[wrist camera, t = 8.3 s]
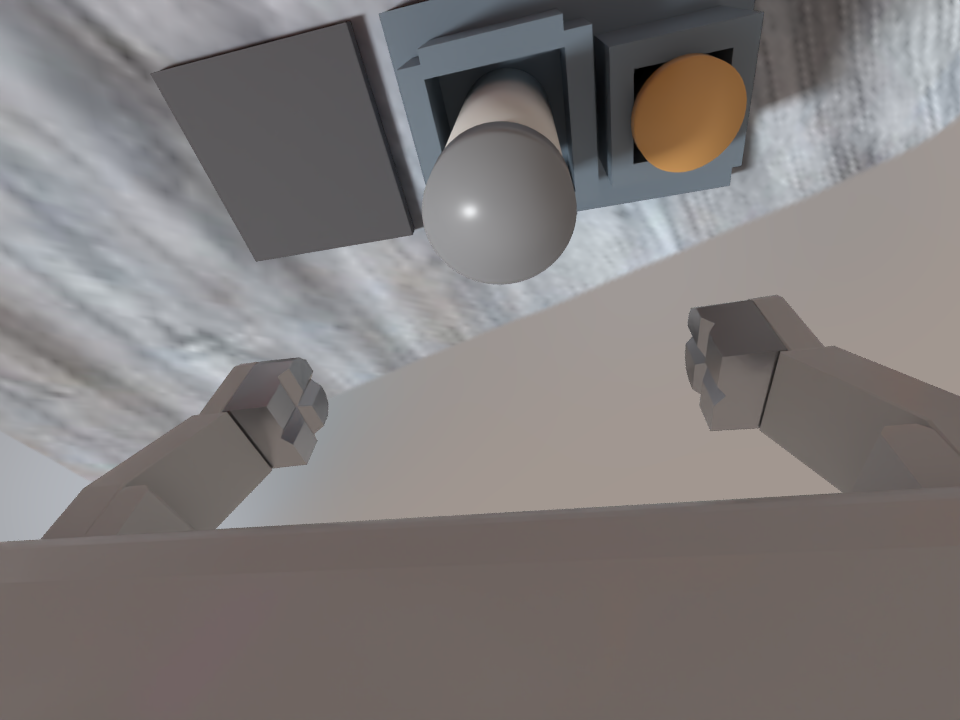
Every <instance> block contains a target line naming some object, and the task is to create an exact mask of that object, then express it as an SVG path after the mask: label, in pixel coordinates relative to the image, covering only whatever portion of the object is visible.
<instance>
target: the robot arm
mask: <svg viewBox="0 0 960 720" xmlns="http://www.w3.org/2000/svg"><path fill="white" fill-rule="evenodd" d="M688 328H689V330H690V332H691V334H692V338H691V339H690V340H689V341H688V342H687V343H686V350H685V361H686V362H685V363H686V371H687V375H688V379H689V382H690V384H691V387H692V389H693V390H695V391H696V392H698V393H700V394H701V397H700V404H699V405H700V408H701V410H702V413H703V415H704V417H705V420H706V422H707V424H708V426H709V429H710V431H719V430H736V429H754V428H760V431H761V432H763V433H764V434H765V435H767V436H768V437H769V438H771V439H772V440H773V441H775V442H776V443H777V444H779V445H780V446H781V447H783V448H784V449H785V450H787V451H788V452H789V453H791V454H792V455H793V456H795V457H796V458H797V459H799V460H800V461H801V462H803V463H804V464H805V465H807V466H808V467H809V468H811V469H812V470H813V471H815V472H816V473H817V474H819V475H820V476H821V477H823V478H824V479H825V480H827V481H828V482H829V483H831V484H832V485H833V486H835V487H836V488H838V489H839V490H840V491H841V492H843V493H834V494H818V495H799V496H782V497H764V498H747V499H731V500H714V501H697V502H680V503H679V502H678V503H661V504H643V505H626V506H609V507H594V508H593V507H592V508H574V509H557V510H540V511H523V512H505V513H489V514H472V515H455V516H438V517H420V518H403V519H385V520H369V521H352V522H333V523H316V524H300V525H282V526H264V527H249V528H248V527H247V528H230V529H216V528H217V527H218V526H219V525H220V524H221V523H222V522H223V521H224V520H225V518H227V517H228V515H229V514H230V513H231V512H232V511H233V510H234V509H235V508H236V507H237V506H238V505H239V504H240V503H241V502H242V501H243V500H244V499H245V498H246V497H247V496H248V495H249V494H250V493H251V492H252V491H253V490H254V489H255V488H256V487H257V486H258V484H259V483H261V481H262V480H263V479H264V478H265V477H266V476H267V475H268V474H269V473H270V472H271V471H272V468H280V467H289V466H298V465H307V463H308V461H309V459H310V456H311V454H312V452H313V450H314V447H315V445H316V443H317V439H316V437H315V433H316V432H317V431H318V430H319V429H320V428H322V427H323V426H324V424H325V421H326V419H327V416H328V400H327V396H326V393H325V391H324V390H323V388H322V386H321V385H319V384H318V383H316V382H315V381H313V380H312V379H311V377H312V373H313V370H312V369H311V367H310V365H309V364H308V362H307V361H306V360H305V359H302V358H290V359H281V360H271V361H262V362H253V363H246V364H240V365H238V366H235V367H234V368H233V369H232V370H231V372H230V373H229V375H228V376H227V377H226V379H225V380H224V381H223V383H222V384H221V385H220V387H219V388H218V389H217V391H216V392H215V394H214V395H213V396H212V398H211V399H210V400H209V402H208V403H207V404H206V406H205V407H204V409H203V410H202V411H201V413H200V414H199V415H194V416H191V417H190V418H188V419H187V420H185V421H184V422H182V423H181V424H179V425H178V426H176V427H175V428H173V429H172V430H170V431H169V432H167V433H166V434H164V435H163V436H161V437H160V438H158V439H157V440H155V441H154V442H152V443H151V444H149V445H148V446H146V447H145V448H143V449H142V450H140V451H139V452H137V453H136V454H134V455H133V456H131V457H130V458H128V459H127V460H125V461H124V462H122V463H121V464H119V465H118V466H116V467H115V468H113V469H112V470H110V471H109V472H107V473H106V474H104V475H103V476H101V477H100V478H98V479H97V480H95V481H94V482H92V483H91V484H89V485H88V486H86V487H85V488H84V489H83V490H82V491H81V492H80V493H79V494H78V496H77V497H76V498H75V499H74V500H73V501H72V503H71V504H70V505H69V506H68V507H67V509H66V510H65V511H64V512H63V513H62V514H61V516H60V517H59V518H58V519H57V520H56V522H55V523H54V524H53V525H52V526H51V527H50V529H49V530H48V531H47V532H46V534H45V535H44V536H43V537H42V538H41V539H40V540H26V541H25V540H24V541H7V542H0V720H960V396H958V395H955V394H953V393H950V392H948V391H945V390H943V389H940V388H938V387H935V386H933V385H930V384H928V383H925V382H923V381H920V380H918V379H915V378H913V377H910V376H908V375H906V374H903V373H900V372H898V371H896V370H893V369H890V368H888V367H886V366H883V365H881V364H878V363H876V362H873V361H871V360H868V359H866V358H863V357H861V356H858V355H856V354H853V353H851V352H848V351H846V350H843V349H841V348H838V347H836V346H828V347H824V346H823V344H822V343H821V342H820V341H819V340H818V338H817V337H816V336H815V335H814V334H813V333H812V331H811V330H810V329H809V328H808V327H807V325H806V324H805V323H804V322H803V321H802V320H801V318H800V317H799V316H798V315H797V314H796V312H795V311H794V310H793V309H792V308H791V306H790V305H789V304H788V303H787V302H786V301H785V299H784V298H783V297H781V296H779V295H773V296H766V297H760V298H753V299H748V300H745V301H737V302H730V303H723V304H716V305H709V306H701V307H694V308H691V310H690V313H689V317H688Z"/></svg>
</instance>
